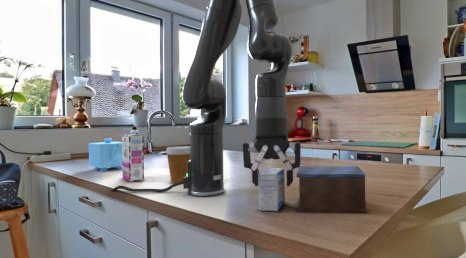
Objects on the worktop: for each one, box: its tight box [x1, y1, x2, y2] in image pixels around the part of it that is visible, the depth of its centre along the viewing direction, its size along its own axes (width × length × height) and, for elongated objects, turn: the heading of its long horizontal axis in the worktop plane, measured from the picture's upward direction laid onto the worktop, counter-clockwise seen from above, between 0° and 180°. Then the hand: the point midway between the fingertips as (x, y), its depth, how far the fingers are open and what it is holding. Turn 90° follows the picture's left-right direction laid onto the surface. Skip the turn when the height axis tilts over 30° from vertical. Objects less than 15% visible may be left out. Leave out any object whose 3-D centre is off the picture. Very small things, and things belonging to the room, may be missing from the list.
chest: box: [298, 177, 366, 214], centre depth 72 cm, size 15×12×8 cm
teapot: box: [88, 137, 122, 172], centre depth 131 cm, size 22×11×14 cm, turn 52°
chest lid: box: [296, 165, 366, 179], centre depth 71 cm, size 15×12×1 cm
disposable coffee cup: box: [165, 145, 190, 184], centre depth 102 cm, size 10×10×12 cm
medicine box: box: [258, 167, 286, 212], centre depth 71 cm, size 8×4×9 cm, turn 168°
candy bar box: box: [121, 134, 145, 183], centre depth 107 cm, size 11×5×16 cm, turn 42°
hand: (272, 185), depth 71 cm, fingers open, 7 cm apart
